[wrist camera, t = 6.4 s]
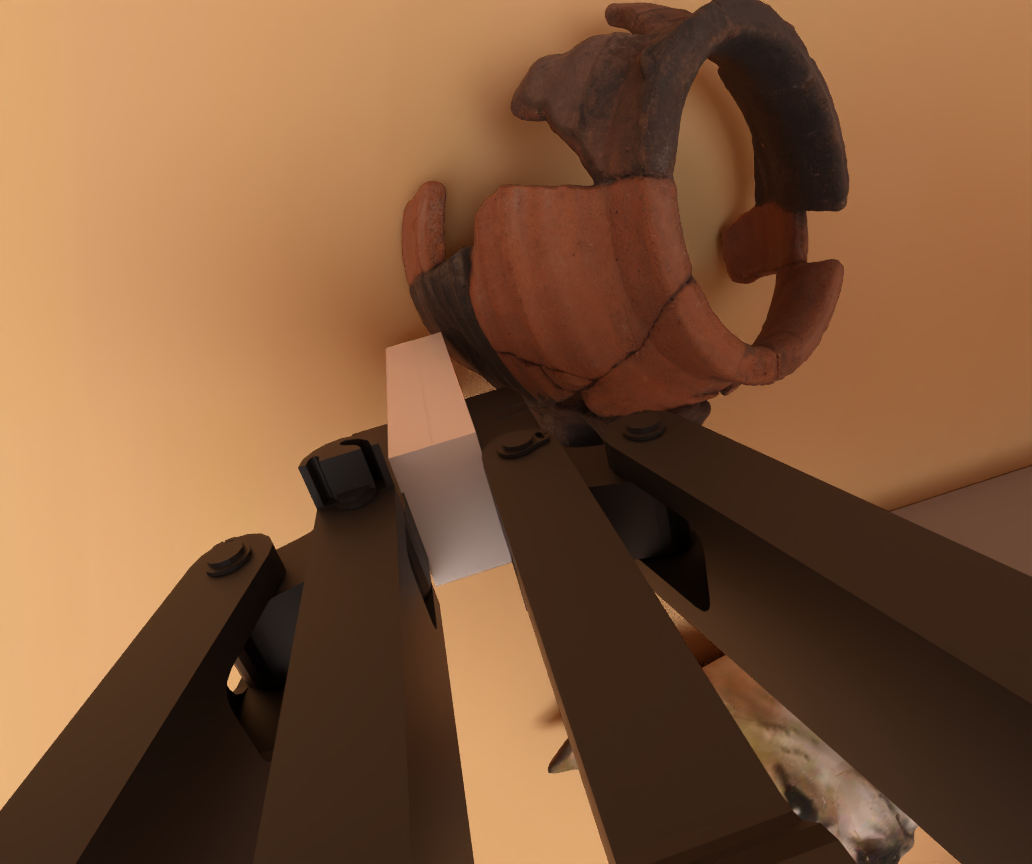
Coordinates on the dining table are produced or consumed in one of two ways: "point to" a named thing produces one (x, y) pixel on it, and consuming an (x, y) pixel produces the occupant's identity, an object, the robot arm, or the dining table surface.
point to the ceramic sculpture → (804, 771)
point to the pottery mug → (639, 228)
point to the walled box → (984, 518)
